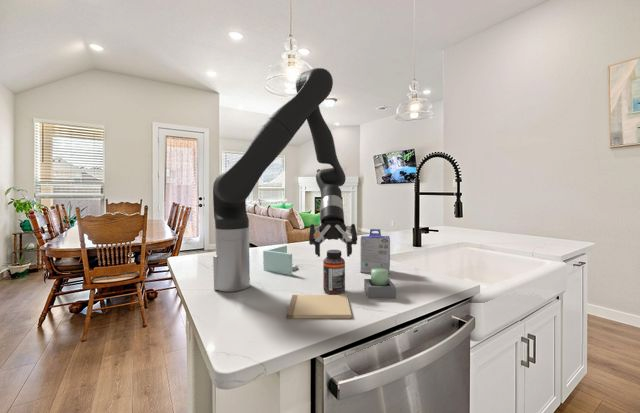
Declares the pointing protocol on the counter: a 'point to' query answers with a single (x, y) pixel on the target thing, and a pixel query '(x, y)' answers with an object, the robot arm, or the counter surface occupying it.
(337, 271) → the supplement bottle
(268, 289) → the counter surface
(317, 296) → the sketchbook
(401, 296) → the counter surface
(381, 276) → the button
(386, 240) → the ink cartridge box
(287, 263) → the l-shaped corner panel
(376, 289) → the button housing
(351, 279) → the counter surface
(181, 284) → the counter surface
